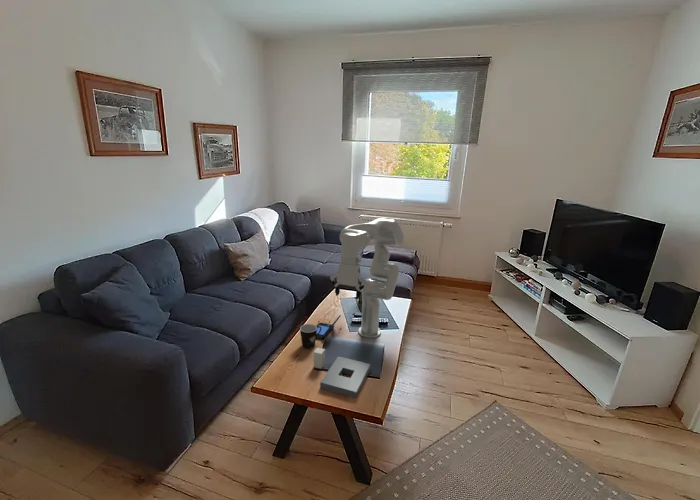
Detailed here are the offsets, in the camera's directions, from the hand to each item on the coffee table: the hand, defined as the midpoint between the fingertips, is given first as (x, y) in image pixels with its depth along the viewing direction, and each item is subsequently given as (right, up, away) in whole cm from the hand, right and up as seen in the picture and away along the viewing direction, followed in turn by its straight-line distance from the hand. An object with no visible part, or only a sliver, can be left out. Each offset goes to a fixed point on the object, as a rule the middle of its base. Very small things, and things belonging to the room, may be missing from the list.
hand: (347, 296), depth 152 cm
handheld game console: (-13, -25, +32) cm, 43 cm away
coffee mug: (-19, -28, +20) cm, 39 cm away
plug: (-13, -33, +4) cm, 36 cm away
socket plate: (-1, -36, -5) cm, 36 cm away
